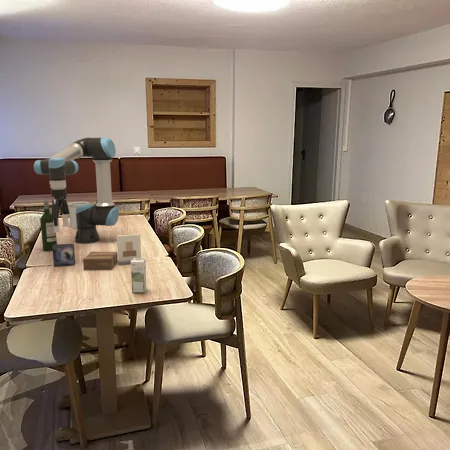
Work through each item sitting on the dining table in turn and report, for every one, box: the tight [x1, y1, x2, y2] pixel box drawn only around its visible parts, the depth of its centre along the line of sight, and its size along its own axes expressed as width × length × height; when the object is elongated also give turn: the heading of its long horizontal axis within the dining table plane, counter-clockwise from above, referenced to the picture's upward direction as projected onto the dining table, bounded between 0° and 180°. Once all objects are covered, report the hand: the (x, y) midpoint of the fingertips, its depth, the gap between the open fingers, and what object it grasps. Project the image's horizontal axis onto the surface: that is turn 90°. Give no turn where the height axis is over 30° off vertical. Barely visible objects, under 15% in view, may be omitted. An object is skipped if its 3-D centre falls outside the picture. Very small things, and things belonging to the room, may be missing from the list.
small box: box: [52, 242, 76, 267], centre depth 231 cm, size 11×6×10 cm, turn 105°
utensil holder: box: [67, 201, 90, 229], centre depth 320 cm, size 15×15×18 cm
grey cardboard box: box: [116, 233, 142, 266], centre depth 234 cm, size 6×12×15 cm, turn 107°
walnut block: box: [82, 251, 118, 271], centre depth 229 cm, size 14×14×6 cm
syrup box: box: [130, 257, 148, 294], centre depth 193 cm, size 6×6×14 cm
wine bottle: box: [39, 198, 58, 252], centre depth 257 cm, size 8×8×30 cm
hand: (61, 229), depth 228 cm, fingers open, 13 cm apart
